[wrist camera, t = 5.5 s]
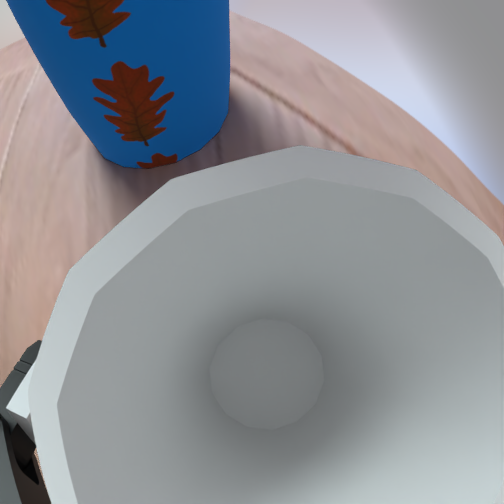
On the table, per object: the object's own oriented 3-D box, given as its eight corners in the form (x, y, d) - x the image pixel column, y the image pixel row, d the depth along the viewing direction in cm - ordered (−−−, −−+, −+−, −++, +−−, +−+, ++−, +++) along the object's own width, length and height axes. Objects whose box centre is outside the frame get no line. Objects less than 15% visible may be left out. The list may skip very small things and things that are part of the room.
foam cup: (210, 472, 14) (164, 647, 2) (156, 317, 17) (-11, 249, 4) (370, 416, 16) (548, 487, 3) (320, 266, 18) (452, 120, 5)
